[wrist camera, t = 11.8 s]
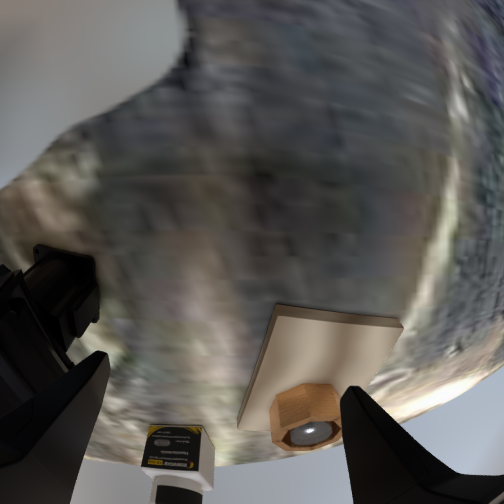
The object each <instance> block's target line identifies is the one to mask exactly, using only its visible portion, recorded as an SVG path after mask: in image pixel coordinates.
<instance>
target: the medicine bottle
mask: <svg viewBox="0 0 504 504" xmlns="http://www.w3.org/2000/svg"><path fill="white" fill-rule="evenodd" d="M214 460H215V448H214V446H213V445H212V443H211V441H210V439H209V438H208V436H207V434H206V432H205V431H204V429H203V427H202V426H176V425H150V427H149V431H148V436H147V440H146V445H145V449H144V454H143V459H142V464H141V469H142V470H143V471H144V472H145V473H146V474H147V475H149V476H150V477H151V478H152V479H153V480H154V481H153V483H152V490H151V496H150V503H149V504H202V496H203V490H213V485H214Z"/></svg>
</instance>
